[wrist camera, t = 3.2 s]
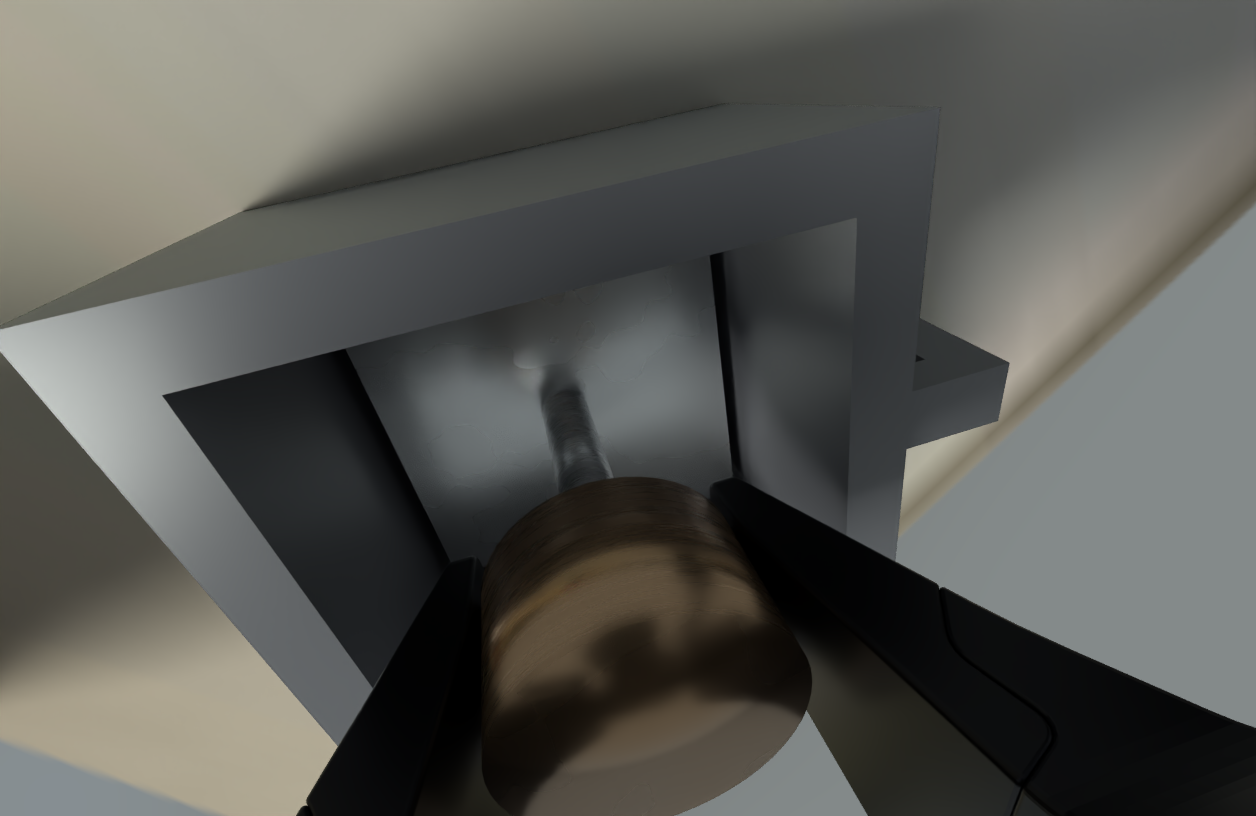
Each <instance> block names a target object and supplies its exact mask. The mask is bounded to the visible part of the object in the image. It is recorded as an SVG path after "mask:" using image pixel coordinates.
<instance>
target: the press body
mask: <svg viewBox="0 0 1256 816" xmlns="http://www.w3.org/2000/svg"><path fill="white" fill-rule="evenodd" d="M940 108H941V107H908V106H846V105H784V104H720V105H715V106H711V107H706V108H702V109H697V110H693V111H689V112H684V113H680V114H675V115H671V116H666V117H662V118H658V119H653V120H649V121H644V122H640V123H635V124H631V125H626V126H622V127H618V128H613V129H609V130H604V131H600V132H595V133H591V134H586V135H582V136H578V137H573V138H569V139H564V140H560V141H555V142H551V143H547V144H542V145H538V146H533V147H529V148H524V149H520V150H515V151H511V152H507V153H502V154H498V155H493V156H489V157H484V158H480V159H475V160H471V161H467V162H462V163H458V164H453V165H449V166H444V167H440V168H436V169H431V170H427V171H422V172H418V173H413V174H409V175H404V176H400V177H396V178H391V179H387V180H382V181H378V182H373V183H369V184H364V185H360V186H356V187H351V188H347V189H342V190H338V191H333V192H329V193H324V194H320V195H316V196H311V197H307V198H302V199H298V200H293V201H289V202H285V203H280V204H276V205H271V206H267V207H262V208H258V209H253V210H249V211H245V212H240V213H237V214H235V215H233V216H231V217H229V218H227V219H225V220H223V221H221V222H218V223H216V224H214V225H212V226H210V227H208V228H206V229H204V230H202V231H199V232H197V233H195V234H193V235H191V236H189V237H187V238H185V239H183V240H180V241H178V242H176V243H174V244H172V245H170V246H168V247H166V248H164V249H161V250H159V251H157V252H155V253H153V254H151V255H149V256H147V257H145V258H142V259H140V260H138V261H136V262H134V263H132V264H130V265H128V266H126V267H123V268H121V269H119V270H117V271H115V272H113V273H111V274H109V275H107V276H104V277H102V278H100V279H98V280H96V281H94V282H92V283H90V284H88V285H85V286H83V287H81V288H79V289H77V290H75V291H73V292H71V293H68V294H66V295H64V296H62V297H60V298H58V299H56V300H54V301H52V302H49V303H47V304H45V305H43V306H41V307H39V308H37V309H35V310H33V311H30V312H28V313H26V314H24V315H22V316H20V317H18V318H16V319H14V320H11V321H9V322H7V323H5V324H3V325H1V326H0V352H1V353H2V354H3V355H4V356H5V358H6V359H7V360H8V361H9V362H10V363H11V365H12V366H13V367H14V368H15V369H16V370H17V372H18V373H19V374H20V375H21V376H22V377H23V379H24V380H25V381H26V382H27V383H28V385H29V386H30V387H31V388H32V389H33V390H34V392H35V393H36V394H37V395H38V396H39V397H40V399H41V400H42V401H43V402H44V403H45V404H46V406H47V407H48V408H49V409H50V410H51V411H52V413H53V414H54V415H55V416H56V417H57V418H58V420H59V421H60V422H61V423H62V424H63V425H64V427H65V428H66V429H67V430H68V431H69V432H70V434H71V435H72V436H73V437H74V438H75V439H76V441H77V442H78V443H79V444H80V445H81V446H82V448H83V449H84V450H85V451H86V452H87V453H88V455H89V456H90V457H91V458H92V459H93V460H94V462H95V463H96V464H97V465H98V466H99V467H100V469H101V470H102V471H103V472H104V473H105V474H106V476H107V477H108V478H109V479H110V480H111V482H112V483H113V484H114V485H115V486H116V487H117V489H118V490H119V491H120V492H121V493H122V494H123V496H124V497H125V498H126V499H127V500H128V501H129V503H130V504H131V505H132V506H133V507H134V508H135V510H136V511H137V512H138V513H139V514H140V515H141V517H142V518H143V519H144V520H145V521H146V522H147V524H148V525H149V526H150V527H151V528H152V529H153V531H154V532H155V533H156V534H157V535H158V536H159V538H160V539H161V540H162V541H163V542H164V543H165V545H166V546H167V547H168V548H169V549H170V550H171V552H172V553H173V554H174V555H175V556H176V557H177V559H178V560H179V561H180V562H181V563H182V564H183V566H184V567H185V568H186V569H187V570H188V572H189V573H190V574H191V575H192V576H193V577H194V579H195V580H196V581H197V582H198V583H199V584H200V586H201V587H202V588H203V589H204V590H205V591H206V593H207V594H208V595H209V596H210V597H211V598H212V600H213V601H214V602H215V603H216V604H217V605H218V607H219V608H220V609H221V610H222V611H223V612H224V614H225V615H226V616H227V617H228V618H229V619H230V621H231V622H232V623H233V624H234V625H235V626H236V628H237V629H238V630H239V631H240V632H241V633H242V635H243V636H244V637H245V638H246V639H247V640H248V642H249V643H250V644H251V645H252V646H253V647H254V649H255V650H256V651H257V652H258V653H259V654H260V656H261V657H262V658H263V659H264V660H265V662H266V663H267V664H268V665H269V666H270V667H271V669H272V670H273V671H274V672H275V673H276V674H277V676H278V677H279V678H280V679H281V680H282V681H283V683H284V684H285V685H286V686H287V687H288V688H289V690H290V691H291V692H292V693H293V694H294V695H295V697H296V698H297V699H298V700H299V701H300V702H301V704H302V705H303V706H304V707H305V708H306V709H307V711H308V712H309V713H310V714H311V715H312V716H313V718H314V719H315V720H316V721H317V722H318V723H319V725H320V726H321V727H322V728H323V729H324V730H325V732H326V733H327V734H328V735H329V736H330V737H331V739H332V740H333V741H334V742H335V743H336V744H337V746H339V744H340V742H341V741H342V739H343V737H344V736H345V734H346V732H347V731H348V729H349V727H350V726H351V724H352V722H353V721H354V719H355V717H356V716H357V714H358V712H359V711H360V709H361V707H362V706H363V704H364V702H365V701H366V699H367V697H368V696H369V694H370V692H371V691H372V689H373V687H374V686H375V684H376V682H377V681H378V679H379V677H380V676H381V674H382V672H383V671H384V669H385V667H386V666H387V664H388V662H389V661H390V659H391V657H392V656H393V654H394V652H395V651H396V649H397V647H398V646H399V644H400V642H401V641H402V639H403V637H404V636H405V634H406V632H407V631H408V629H409V627H410V626H411V624H412V622H413V621H414V619H415V617H416V616H417V614H418V612H419V611H420V609H421V607H422V606H423V604H424V602H425V601H426V599H427V597H428V596H429V594H430V592H431V591H432V589H433V587H434V586H435V584H436V582H437V581H438V579H439V577H440V576H441V574H442V573H443V571H444V569H445V568H446V566H447V565H448V564H449V563H450V560H449V558H448V556H447V553H446V551H445V549H444V547H443V545H442V543H441V541H440V539H439V537H438V535H437V533H436V531H435V529H434V527H433V525H432V523H431V521H430V519H429V517H428V515H427V513H426V511H425V509H424V507H423V505H422V503H421V501H420V499H419V497H418V495H417V493H416V491H415V489H414V487H413V485H412V483H411V481H410V479H409V477H408V475H407V473H406V471H405V469H404V466H403V464H402V462H401V460H400V458H399V456H398V454H397V452H396V450H395V448H394V446H393V444H392V442H391V440H390V438H389V436H388V434H387V432H386V430H385V428H384V426H383V424H382V422H381V420H380V418H379V416H378V414H377V412H376V410H375V408H374V406H373V404H372V402H371V400H370V398H369V396H368V394H367V392H366V390H365V388H364V386H363V384H362V382H361V380H360V377H359V375H358V373H357V371H356V369H355V367H354V365H353V363H352V361H351V359H350V357H349V355H348V353H347V351H346V349H345V348H349V347H353V346H356V345H360V344H364V343H368V342H372V341H376V340H380V339H384V338H388V337H392V336H395V335H399V334H403V333H407V332H411V331H415V330H419V329H423V328H427V327H431V326H435V325H438V324H442V323H446V322H450V321H454V320H458V319H462V318H466V317H470V316H474V315H478V314H481V313H485V312H489V311H493V310H497V309H501V308H505V307H509V306H513V305H517V304H521V303H524V302H528V301H532V300H536V299H540V298H544V297H548V296H552V295H556V294H560V293H563V292H567V291H571V290H575V289H579V288H583V287H587V286H591V285H595V284H599V283H603V282H606V281H610V280H614V279H618V278H622V277H626V276H630V275H634V274H638V273H642V272H646V271H649V270H653V269H657V268H661V267H665V266H669V265H673V264H677V263H681V262H685V261H689V260H692V259H696V258H700V257H704V256H708V255H710V263H711V273H712V282H713V292H714V301H715V311H716V320H717V330H718V339H719V349H720V358H721V368H722V378H723V387H724V397H725V406H726V416H727V425H728V435H729V444H730V454H731V463H732V473H733V477H737V478H739V479H741V480H743V481H745V482H747V483H749V484H751V485H753V486H754V487H756V488H758V489H760V490H762V491H764V492H766V493H768V494H769V495H771V496H773V497H775V498H777V499H779V500H781V501H783V502H785V503H786V504H788V505H790V506H792V507H794V508H796V509H798V510H800V511H801V512H803V513H805V514H807V515H809V516H811V517H813V518H815V519H817V520H818V521H820V522H822V523H824V524H826V525H828V526H830V527H832V528H833V529H835V530H837V531H839V532H841V533H843V534H845V535H847V536H848V537H850V538H852V539H854V540H856V541H858V542H860V543H862V544H864V545H865V546H867V547H869V548H871V549H873V550H875V551H877V552H879V553H880V554H882V555H884V556H886V557H888V558H890V559H892V560H894V561H895V559H896V549H897V539H898V529H899V519H900V509H901V499H902V489H903V479H904V469H905V459H906V449H908V448H911V447H915V446H918V445H921V444H924V443H928V442H931V441H934V440H937V439H941V438H944V437H947V436H950V435H954V434H957V433H960V432H963V431H967V430H970V429H973V428H976V427H979V426H983V425H986V424H989V423H992V422H996V421H998V418H999V413H1000V408H1001V403H1002V398H1003V393H1004V388H1005V383H1006V378H1007V373H1008V368H1009V362H1007V361H1005V360H1003V359H1001V358H999V357H997V356H995V355H993V354H991V353H989V352H987V351H985V350H983V349H981V348H979V347H977V346H975V345H973V344H971V343H968V342H966V341H964V340H962V339H960V338H958V337H956V336H954V335H952V334H950V333H948V332H946V331H944V330H942V329H940V328H938V327H936V326H934V325H932V324H930V323H928V322H926V321H924V320H922V319H920V308H921V298H922V288H923V278H924V268H925V258H926V248H927V238H928V228H929V218H930V208H931V198H932V188H933V178H934V168H935V158H936V148H937V138H938V128H939V118H940ZM708 500H710V501H711V498H708ZM483 568H484V570H485V568H486V567H483Z"/></svg>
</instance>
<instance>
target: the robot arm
mask: <svg viewBox="0 0 1256 816" xmlns="http://www.w3.org/2000/svg"><path fill="white" fill-rule="evenodd" d="M709 490H710V498H711V502H712V503H713V504H714V505H715V506H716V507H717V508H718V509H719V510H720V511H721V513H722V515H723V516H724V518H725V519H726V521H727V522H728V524H729V526H730V528H731V529H732V531H733V533H734V534H735V536H736V538H737V539H738V541H739V543H740V545H741V546H742V548H743V550H744V551H745V553H746V555H747V556H748V558H749V560H750V561H751V563H752V565H753V567H754V568H755V570H756V572H757V573H758V575H759V577H760V578H761V580H762V582H763V584H764V585H765V587H766V589H767V590H768V592H769V594H770V595H771V597H772V599H773V601H774V602H775V604H776V606H777V607H778V609H779V611H780V612H781V614H782V616H783V617H784V619H785V621H786V623H787V624H788V626H789V628H790V629H791V631H792V633H793V634H794V636H795V638H796V640H797V641H798V643H799V645H800V646H801V648H802V650H803V651H804V653H805V655H806V656H807V659H808V662H809V664H810V667H811V673H812V692H811V697H810V701H809V704H808V707H807V712H808V713H809V715H810V717H811V719H812V720H813V722H814V723H815V725H816V727H817V729H818V731H819V732H820V734H821V736H822V737H823V739H824V741H825V743H826V744H827V746H828V748H829V750H830V751H831V753H832V755H833V756H834V758H835V760H836V761H837V763H838V765H839V767H840V768H841V770H842V772H843V774H844V775H845V777H846V779H847V780H848V782H849V784H850V786H851V787H852V789H853V791H854V793H855V794H856V796H857V798H858V799H859V801H860V803H861V804H862V806H863V808H864V809H865V812H866V813H867V815H868V816H1256V728H1254V727H1252V726H1249V725H1246V724H1243V723H1240V722H1237V721H1235V720H1232V719H1230V718H1227V717H1225V716H1222V715H1220V714H1217V713H1215V712H1213V711H1210V710H1208V709H1206V708H1203V707H1201V706H1199V705H1196V704H1194V703H1192V702H1190V701H1187V700H1185V699H1183V698H1180V697H1178V696H1176V695H1174V694H1171V693H1169V692H1167V691H1164V690H1162V689H1160V688H1158V687H1155V686H1153V685H1151V684H1149V683H1146V682H1144V681H1142V680H1139V679H1137V678H1135V677H1132V676H1130V675H1128V674H1126V673H1123V672H1121V671H1119V670H1117V669H1114V668H1112V667H1110V666H1107V665H1105V664H1103V663H1100V662H1098V661H1096V660H1094V659H1091V658H1089V657H1087V656H1085V655H1082V654H1080V653H1078V652H1076V651H1073V650H1071V649H1069V648H1067V647H1064V646H1062V645H1060V644H1058V643H1056V642H1054V641H1051V640H1049V639H1047V638H1045V637H1043V636H1040V635H1038V634H1036V633H1034V632H1031V631H1030V630H1027V629H1025V628H1023V627H1021V626H1019V625H1017V624H1015V623H1012V622H1011V621H1009V620H1007V619H1004V618H1003V617H1001V616H999V615H997V614H995V613H993V612H991V611H989V610H987V609H985V608H983V607H981V606H979V605H977V604H975V603H973V602H971V601H969V600H967V599H966V598H963V597H962V596H960V595H958V594H956V593H954V592H952V591H950V590H949V589H946V588H945V587H942V588H940V589H939V586H938V585H937V583H935V582H933V581H931V580H929V579H927V578H925V577H924V576H922V575H920V574H918V573H916V572H914V571H912V570H911V569H908V568H907V567H905V566H903V565H901V564H899V563H897V562H895V561H894V560H892V559H890V558H888V557H886V556H884V555H882V554H880V553H879V552H877V551H875V550H873V549H871V548H869V547H867V546H865V545H864V544H862V543H860V542H858V541H856V540H854V539H852V538H850V537H848V536H847V535H845V534H843V533H841V532H839V531H837V530H835V529H833V528H832V527H830V526H828V525H826V524H824V523H822V522H820V521H818V520H817V519H815V518H813V517H811V516H809V515H807V514H805V513H803V512H801V511H800V510H798V509H796V508H794V507H792V506H790V505H788V504H786V503H785V502H783V501H781V500H779V499H777V498H775V497H773V496H771V495H769V494H768V493H766V492H764V491H762V490H760V489H758V488H756V487H754V486H753V485H751V484H749V483H747V482H745V481H743V480H741V479H739V478H737V477H728V478H725V479H722V480H718V481H715V482H713V483H712V484H711V485H710V489H709ZM483 574H484V568H483V566H482V564H481V562H480V560H479V559H478V558H477V557H476V556H469V557H465V558H462V559H459V560H455V561H452V562H450V563H449V564H448V565H447V566H446V568H445V569H444V571H443V573H442V574H441V576H440V577H439V579H438V581H437V582H436V584H435V586H434V587H433V589H432V591H431V592H430V594H429V596H428V597H427V599H426V601H425V602H424V604H423V606H422V607H421V609H420V611H419V612H418V614H417V616H416V617H415V619H414V621H413V622H412V624H411V626H410V627H409V629H408V631H407V632H406V634H405V636H404V637H403V639H402V641H401V642H400V644H399V646H398V647H397V649H396V651H395V652H394V654H393V656H392V657H391V659H390V661H389V662H388V664H387V666H386V667H385V669H384V671H383V672H382V674H381V676H380V677H379V679H378V681H377V682H376V684H375V686H374V687H373V689H372V691H371V692H370V694H369V696H368V697H367V699H366V701H365V702H364V704H363V706H362V707H361V709H360V711H359V712H358V714H357V716H356V717H355V719H354V721H353V722H352V724H351V726H350V727H349V729H348V731H347V732H346V734H345V736H344V737H343V739H342V741H341V742H340V744H339V746H338V747H337V749H336V751H335V752H334V754H333V756H332V757H331V759H330V761H329V762H328V764H327V766H326V767H325V769H324V771H323V772H322V774H321V776H320V777H319V779H318V781H317V782H316V784H315V786H314V787H313V789H312V790H311V792H310V794H309V795H308V797H307V799H306V803H307V805H308V806H303V807H301V808H300V810H299V812H298V813H297V815H296V816H513V815H511V814H509V813H508V812H507V811H506V810H504V809H503V808H502V807H501V806H499V805H498V804H497V802H496V801H495V800H494V799H493V797H492V796H491V795H490V793H489V791H488V789H487V787H486V785H485V783H484V779H483V774H482V756H481V583H482V578H483Z"/></svg>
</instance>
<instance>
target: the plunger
mask: <svg viewBox="0 0 1256 816" xmlns="http://www.w3.org/2000/svg"><path fill="white" fill-rule="evenodd" d="M345 349H346V351H347V353H348V355H349V357H350V359H351V361H352V363H353V365H354V367H355V369H356V371H357V373H358V375H359V377H360V380H361V382H362V384H363V386H364V388H365V390H366V392H367V394H368V396H369V398H370V400H371V402H372V404H373V406H374V408H375V410H376V412H377V414H378V416H379V418H380V420H381V422H382V424H383V426H384V428H385V430H386V432H387V434H388V436H389V438H390V440H391V442H392V444H393V446H394V448H395V450H396V452H397V454H398V456H399V458H400V460H401V462H402V464H403V466H404V469H405V471H406V473H407V475H408V477H409V479H410V481H411V483H412V485H413V487H414V489H415V491H416V493H417V495H418V497H419V499H420V501H421V503H422V505H423V507H424V509H425V511H426V513H427V515H428V517H429V519H430V521H431V523H432V525H433V527H434V529H435V531H436V533H437V535H438V537H439V539H440V541H441V543H442V545H443V547H444V549H445V551H446V553H447V556H448V558H449V560H450V562H452V561H455V560H459V559H462V558H465V557H469V556H476V557H477V558H478V559H479V560H480V562H481V564H482V566H483V567H486V568H485V570H484V574H483V578H482V583H481V756H482V774H483V779H484V783H485V785H486V787H487V789H488V791H489V793H490V795H491V796H492V797H493V799H494V800H495V801H496V802H497V804H498V805H499V806H501V807H502V808H503V809H504V810H506V811H507V812H508V813H509V814H511V815H513V816H674V815H677V814H680V813H682V812H685V811H687V810H690V809H692V808H695V807H697V806H699V805H701V804H703V803H705V802H707V801H710V800H711V799H714V798H715V797H717V796H719V795H721V794H723V793H724V792H726V791H728V790H730V789H731V788H733V787H735V786H736V785H737V784H739V783H741V782H742V781H744V780H745V779H747V778H748V777H749V776H750V775H752V774H753V773H754V772H756V771H757V770H758V769H760V768H761V767H762V766H763V765H764V764H766V763H767V762H768V761H769V760H770V759H771V758H772V757H773V756H774V755H775V754H776V753H777V752H778V751H779V750H780V749H781V748H782V747H783V746H784V744H785V743H786V742H787V741H788V740H789V738H790V737H791V736H792V734H793V733H794V732H795V730H796V729H797V727H798V725H799V723H800V722H801V720H802V718H803V716H804V714H805V712H806V710H807V707H808V704H809V701H810V697H811V692H812V673H811V667H810V664H809V662H808V659H807V656H806V655H805V653H804V651H803V650H802V648H801V646H800V645H799V643H798V641H797V640H796V638H795V636H794V634H793V633H792V631H791V629H790V628H789V626H788V624H787V623H786V621H785V619H784V617H783V616H782V614H781V612H780V611H779V609H778V607H777V606H776V604H775V602H774V601H773V599H772V597H771V595H770V594H769V592H768V590H767V589H766V587H765V585H764V584H763V582H762V580H761V578H760V577H759V575H758V573H757V572H756V570H755V568H754V567H753V565H752V563H751V561H750V560H749V558H748V556H747V555H746V553H745V551H744V550H743V548H742V546H741V545H740V543H739V541H738V539H737V538H736V536H735V534H734V533H733V531H732V529H731V528H730V526H729V524H728V522H727V521H726V519H725V518H724V516H723V515H722V513H721V511H720V510H719V509H718V508H717V507H716V506H715V505H714V504H713V503H712V502H711V501H710V500H708V498H710V490H709V489H710V485H711V484H712V483H713V482H715V481H718V480H722V479H725V478H728V477H733V473H732V463H731V454H730V444H729V435H728V425H727V416H726V406H725V397H724V387H723V378H722V368H721V358H720V349H719V339H718V330H717V320H716V311H715V301H714V292H713V282H712V273H711V263H710V255H708V256H704V257H700V258H696V259H692V260H689V261H685V262H681V263H677V264H673V265H669V266H665V267H661V268H657V269H653V270H649V271H646V272H642V273H638V274H634V275H630V276H626V277H622V278H618V279H614V280H610V281H606V282H603V283H599V284H595V285H591V286H587V287H583V288H579V289H575V290H571V291H567V292H563V293H560V294H556V295H552V296H548V297H544V298H540V299H536V300H532V301H528V302H524V303H521V304H517V305H513V306H509V307H505V308H501V309H497V310H493V311H489V312H485V313H481V314H478V315H474V316H470V317H466V318H462V319H458V320H454V321H450V322H446V323H442V324H438V325H435V326H431V327H427V328H423V329H419V330H415V331H411V332H407V333H403V334H399V335H395V336H392V337H388V338H384V339H380V340H376V341H372V342H368V343H364V344H360V345H356V346H353V347H349V348H345Z"/></svg>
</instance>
